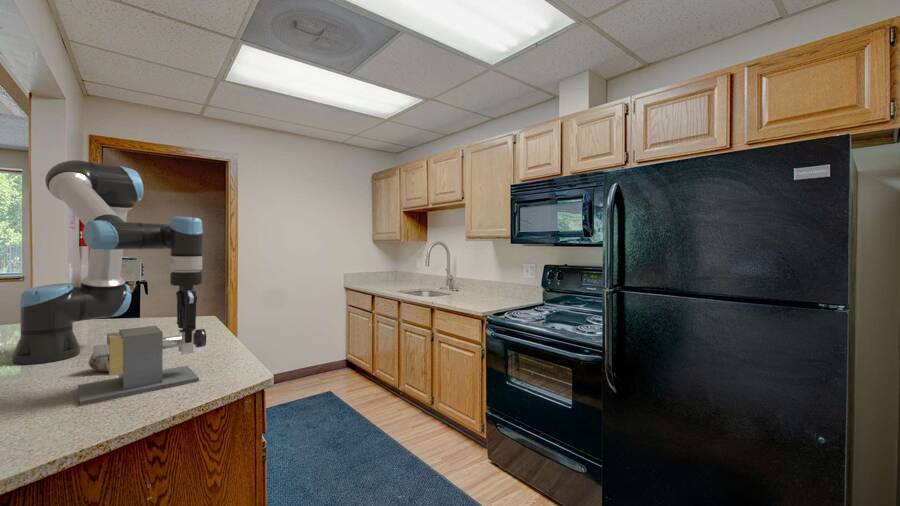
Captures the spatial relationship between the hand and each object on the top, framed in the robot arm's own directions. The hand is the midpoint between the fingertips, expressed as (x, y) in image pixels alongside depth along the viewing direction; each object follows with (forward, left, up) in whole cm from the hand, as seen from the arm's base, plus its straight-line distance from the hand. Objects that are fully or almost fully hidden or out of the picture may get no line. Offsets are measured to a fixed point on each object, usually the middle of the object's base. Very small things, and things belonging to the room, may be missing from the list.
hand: (185, 351), depth 111 cm
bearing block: (0, -10, -7) cm, 12 cm away
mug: (-19, -14, -7) cm, 25 cm away
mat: (0, -10, -7) cm, 12 cm away
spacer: (0, -15, -2) cm, 16 cm away
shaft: (0, -8, +1) cm, 8 cm away
